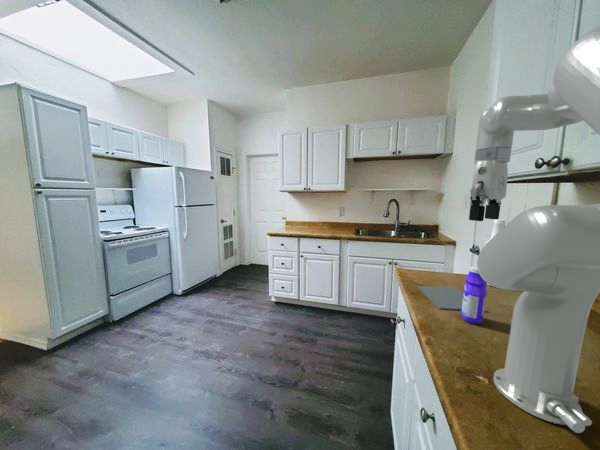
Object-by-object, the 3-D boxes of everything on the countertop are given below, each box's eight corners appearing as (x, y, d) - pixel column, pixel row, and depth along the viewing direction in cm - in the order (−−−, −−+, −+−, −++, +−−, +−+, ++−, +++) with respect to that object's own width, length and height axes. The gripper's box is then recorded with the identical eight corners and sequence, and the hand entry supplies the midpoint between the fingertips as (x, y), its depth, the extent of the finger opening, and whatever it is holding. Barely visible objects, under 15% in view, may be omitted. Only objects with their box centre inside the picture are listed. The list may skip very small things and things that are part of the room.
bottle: (459, 312, 81) (464, 263, 79) (479, 316, 78) (486, 266, 76) (462, 322, 74) (468, 269, 72) (484, 327, 72) (491, 272, 70)
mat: (487, 312, 81) (487, 310, 81) (439, 309, 83) (439, 307, 83) (455, 289, 101) (455, 287, 101) (416, 287, 103) (417, 285, 103)
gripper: (495, 152, 56) (486, 223, 58) (521, 158, 65) (512, 219, 67) (460, 155, 62) (453, 219, 65) (489, 161, 71) (482, 217, 73)
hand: (483, 219), depth 66 cm, fingers open, 9 cm apart
